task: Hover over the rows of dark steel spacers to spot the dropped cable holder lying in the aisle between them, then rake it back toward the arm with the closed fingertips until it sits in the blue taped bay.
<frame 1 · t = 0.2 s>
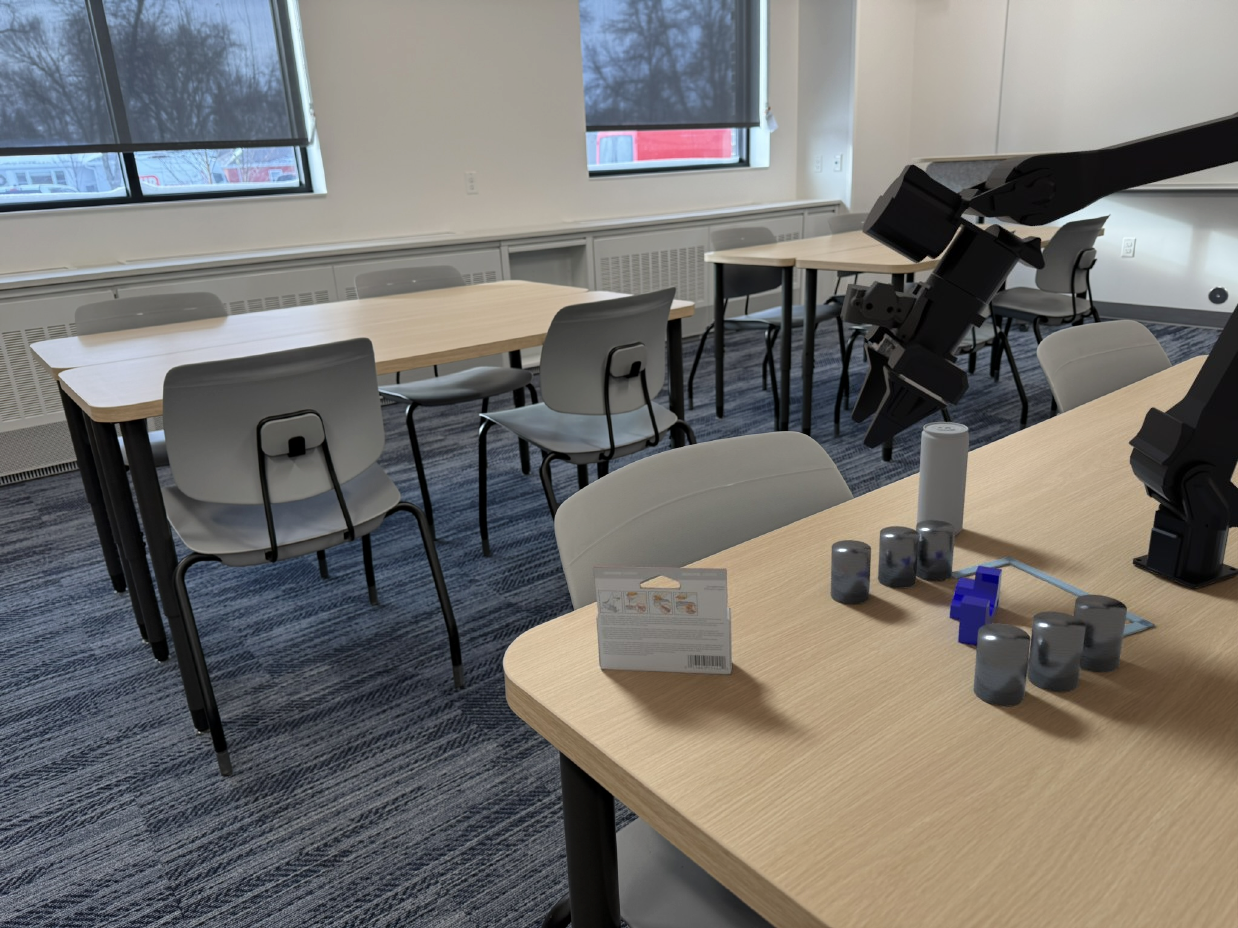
hand: (860, 433, 82), 15 cm above the table, tool tilted 30°, fingers open, 9 cm apart
ink cartridge box: (666, 668, 72), on the table
taped bay: (1043, 598, 79), on the table
spacers: (967, 621, 76), on the table
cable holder: (969, 626, 76), on the table
beverage can: (938, 532, 96), on the table
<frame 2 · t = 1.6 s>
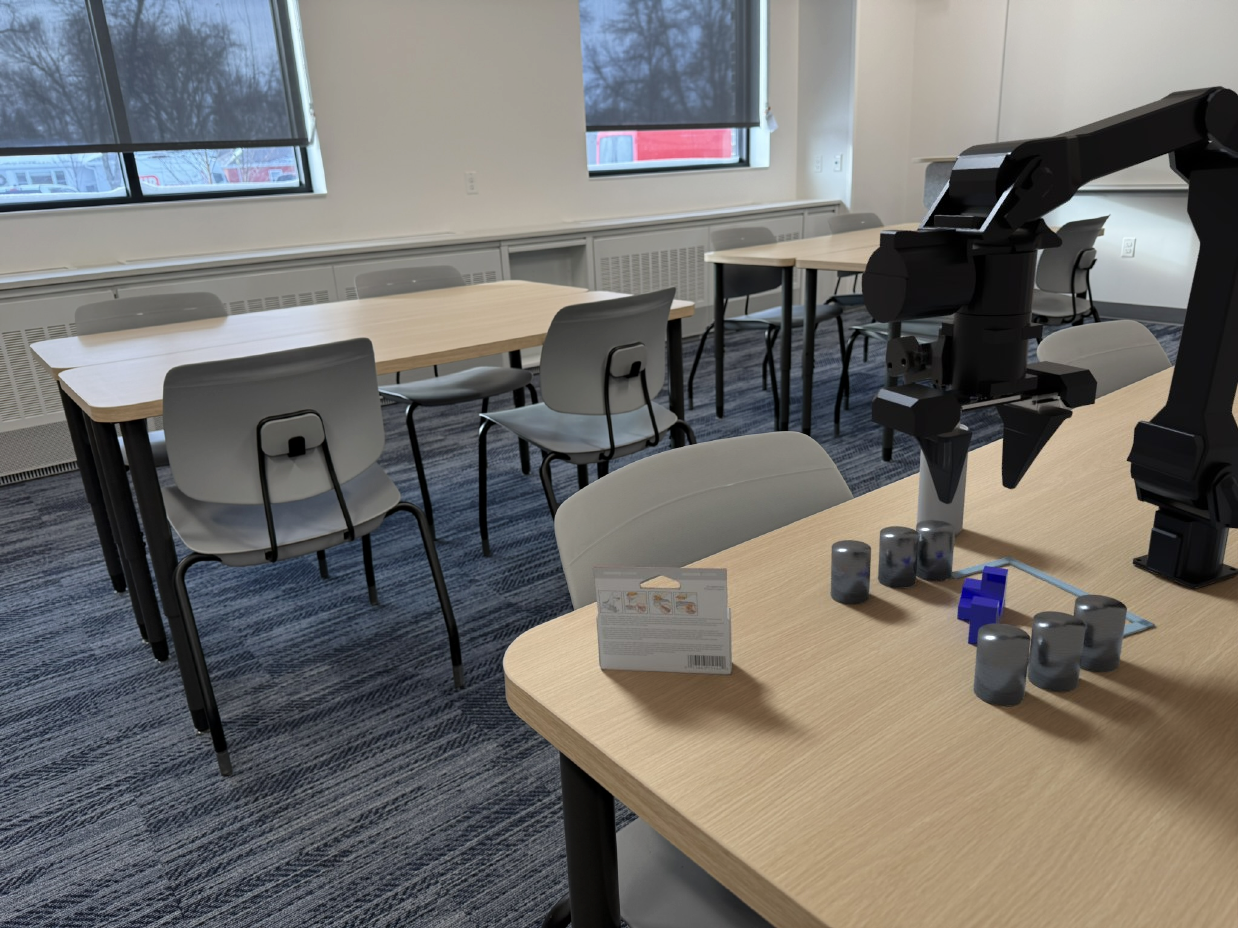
hand: (977, 495, 73), 12 cm above the table, tool pointing down, fingers open, 7 cm apart
nothing on the table moved.
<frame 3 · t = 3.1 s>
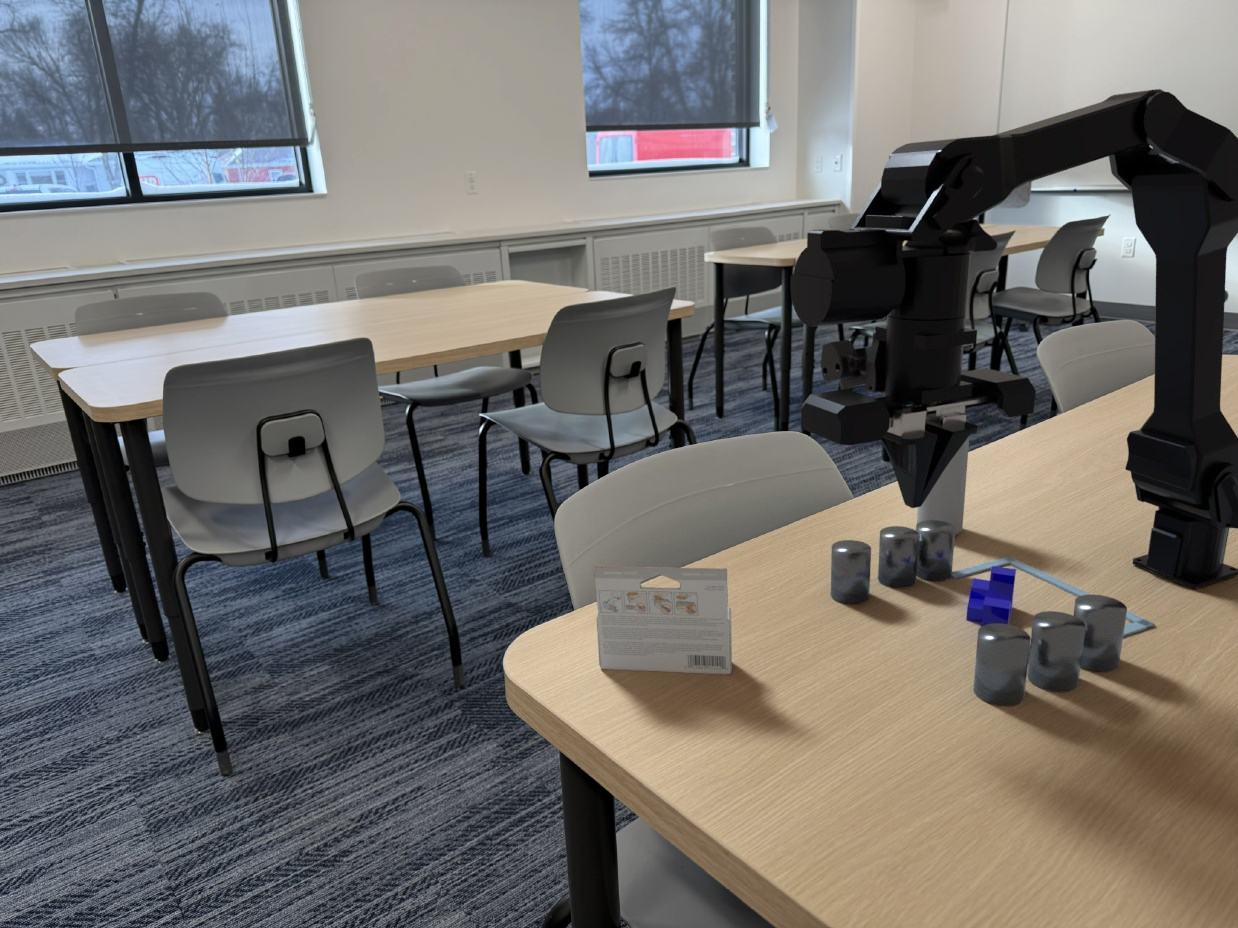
hand: (912, 506, 70), 12 cm above the table, tool pointing down, fingers closed
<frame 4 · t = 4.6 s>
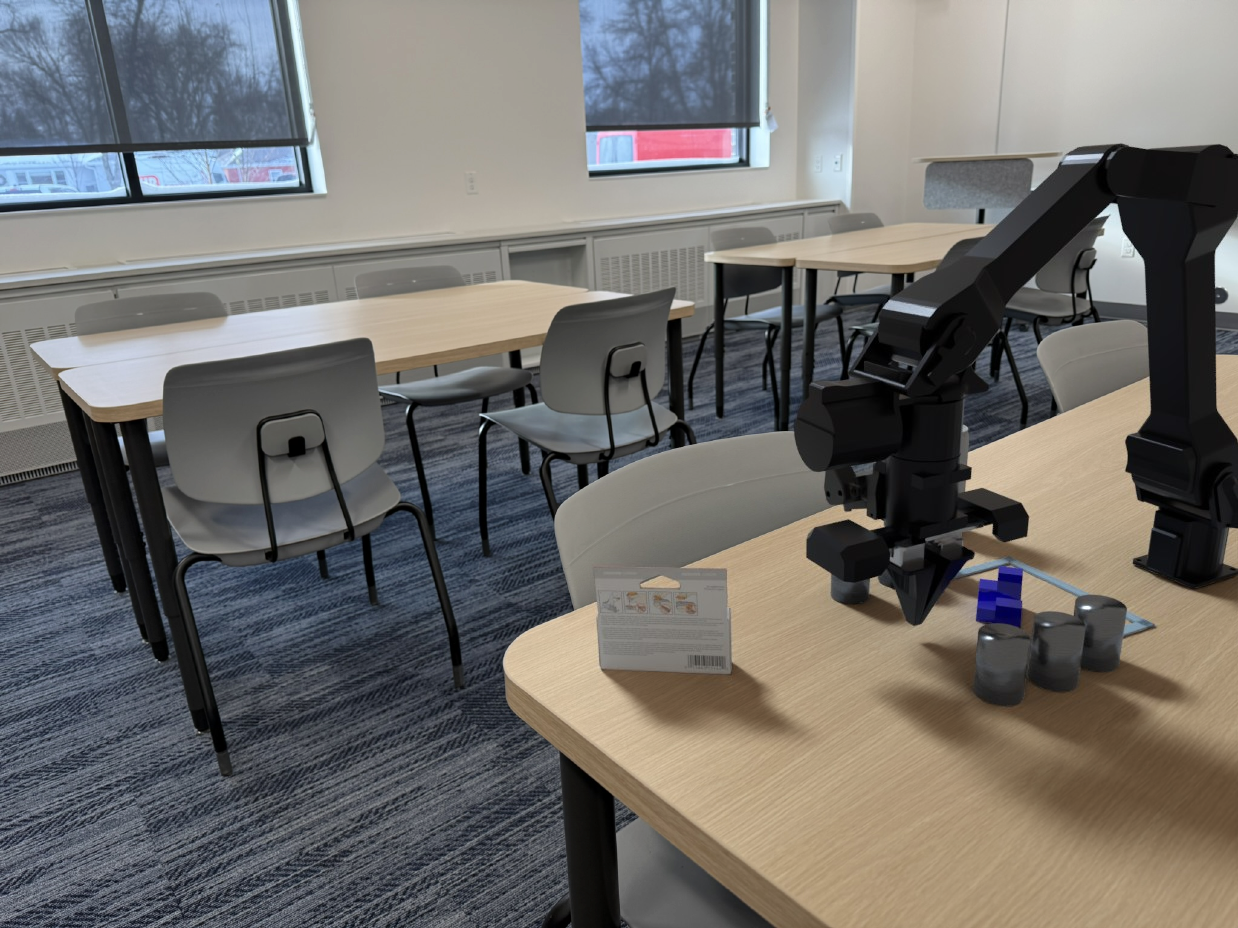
hand: (913, 623, 74), 1 cm above the table, tool pointing down, fingers closed
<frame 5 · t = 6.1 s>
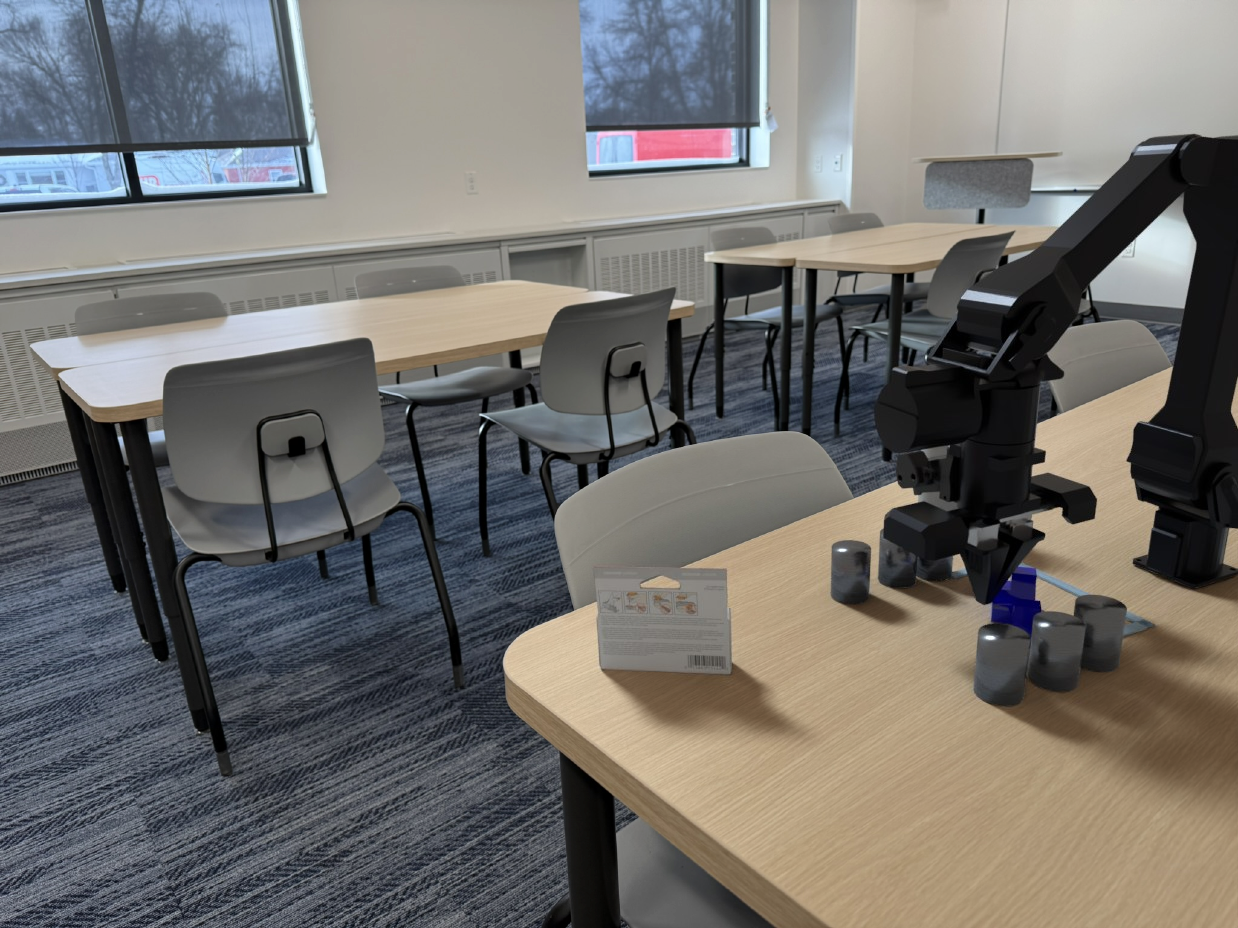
hand: (983, 602, 76), 1 cm above the table, tool pointing down, fingers closed
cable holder: (1012, 628, 75), on the table, touching gripper
everything else where it was.
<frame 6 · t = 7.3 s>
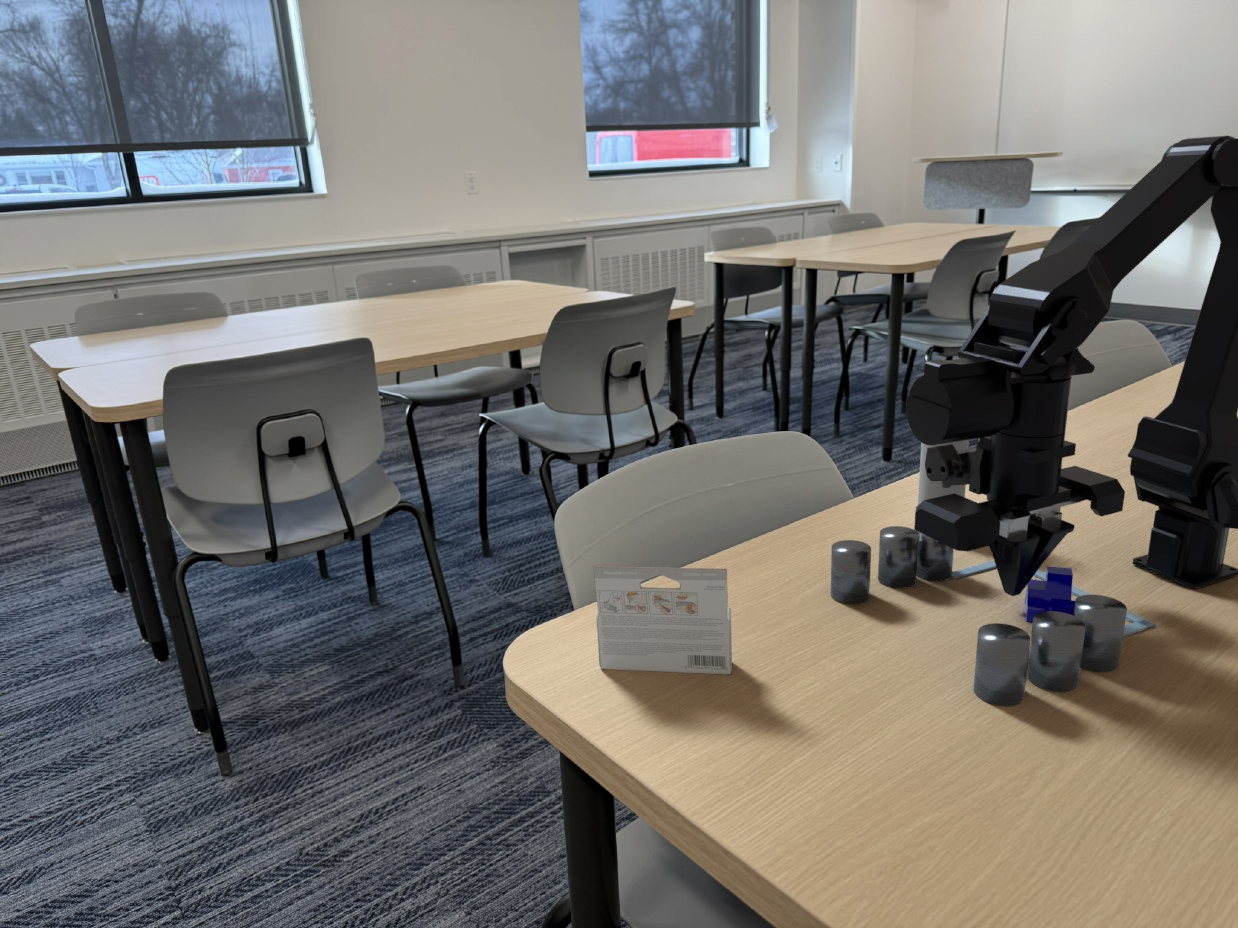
hand: (1011, 593, 78), 1 cm above the table, tool pointing down, fingers closed
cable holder: (1047, 628, 75), on the table
everything else where it was.
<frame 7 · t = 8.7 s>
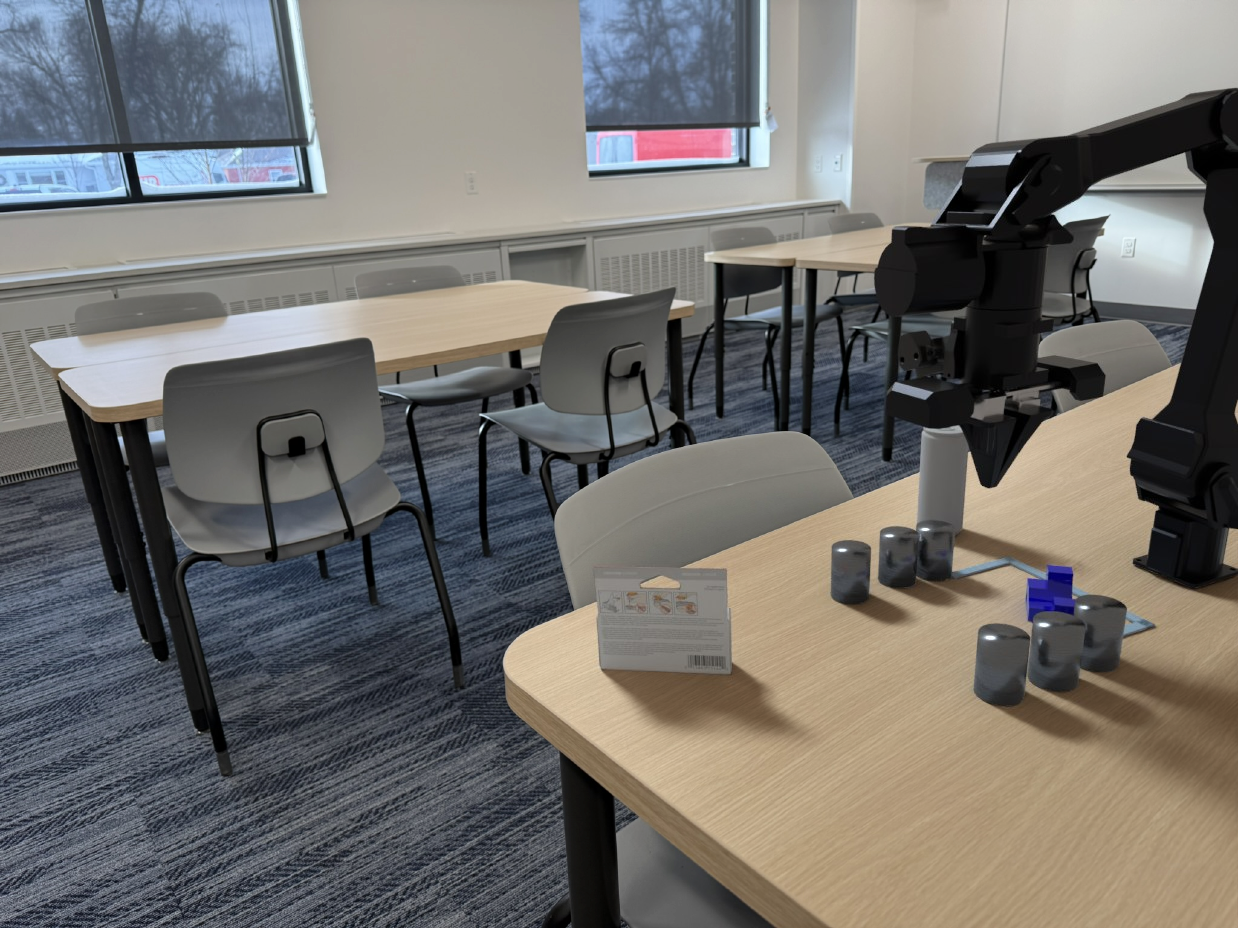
hand: (988, 486, 74), 12 cm above the table, tool pointing down, fingers closed
nothing on the table moved.
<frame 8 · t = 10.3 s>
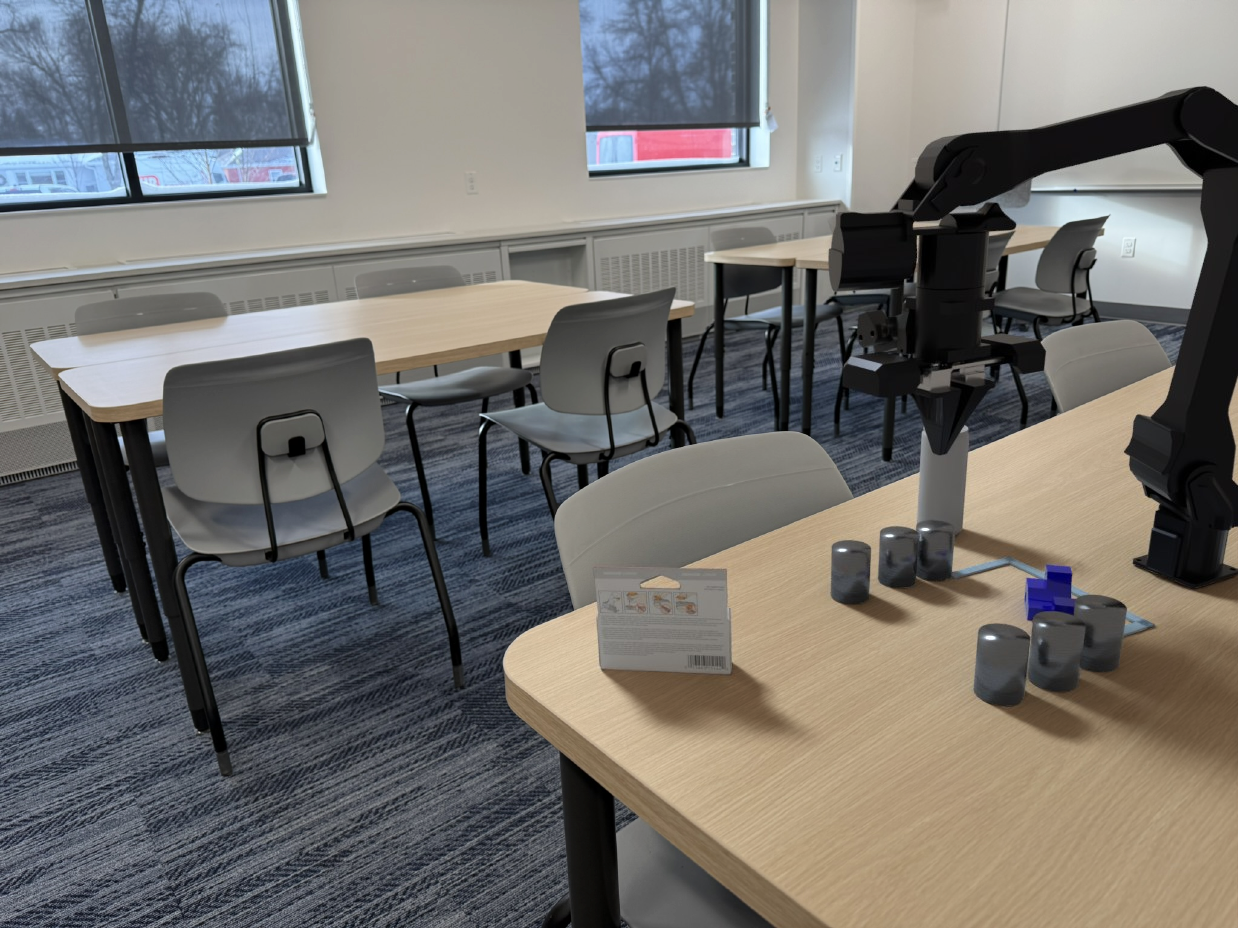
hand: (939, 454, 80), 13 cm above the table, tool pointing down, fingers closed
nothing on the table moved.
at the end: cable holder inside the target area (4.6 cm from its centre), on the table; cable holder moved 6.9 cm from its start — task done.
